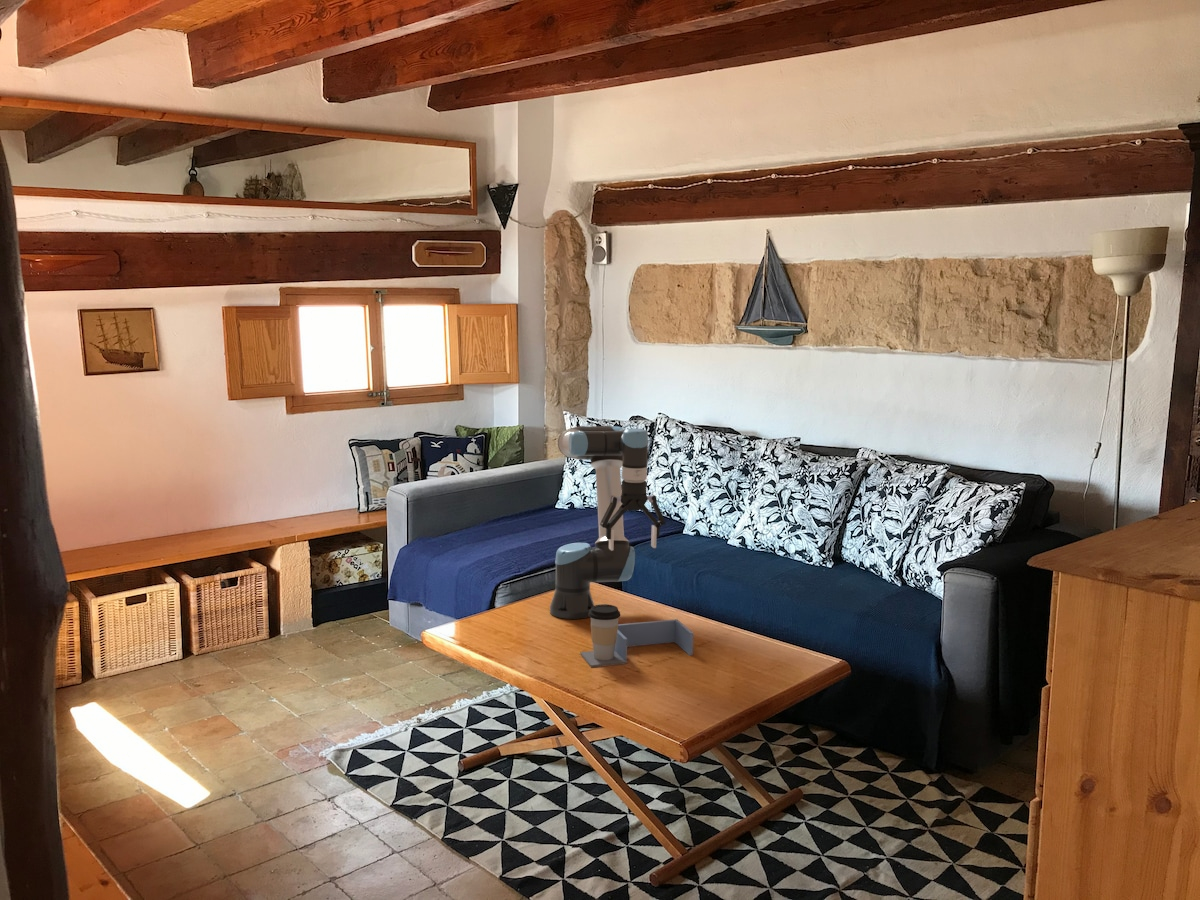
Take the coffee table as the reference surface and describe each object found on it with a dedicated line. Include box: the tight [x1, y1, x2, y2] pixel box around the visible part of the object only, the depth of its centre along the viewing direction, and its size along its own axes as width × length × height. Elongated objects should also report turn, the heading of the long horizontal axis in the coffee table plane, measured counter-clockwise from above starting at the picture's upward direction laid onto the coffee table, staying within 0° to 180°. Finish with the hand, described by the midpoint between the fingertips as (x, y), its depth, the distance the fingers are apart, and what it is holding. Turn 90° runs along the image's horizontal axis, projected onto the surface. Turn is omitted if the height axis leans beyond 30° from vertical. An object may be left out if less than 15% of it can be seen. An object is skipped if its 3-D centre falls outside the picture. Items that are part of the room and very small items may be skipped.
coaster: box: [579, 650, 628, 668], centre depth 295 cm, size 11×11×1 cm
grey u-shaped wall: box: [615, 618, 694, 662], centre depth 301 cm, size 13×22×7 cm, turn 108°
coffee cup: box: [588, 603, 621, 660], centre depth 293 cm, size 9×9×15 cm
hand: (632, 548), depth 304 cm, fingers open, 13 cm apart
